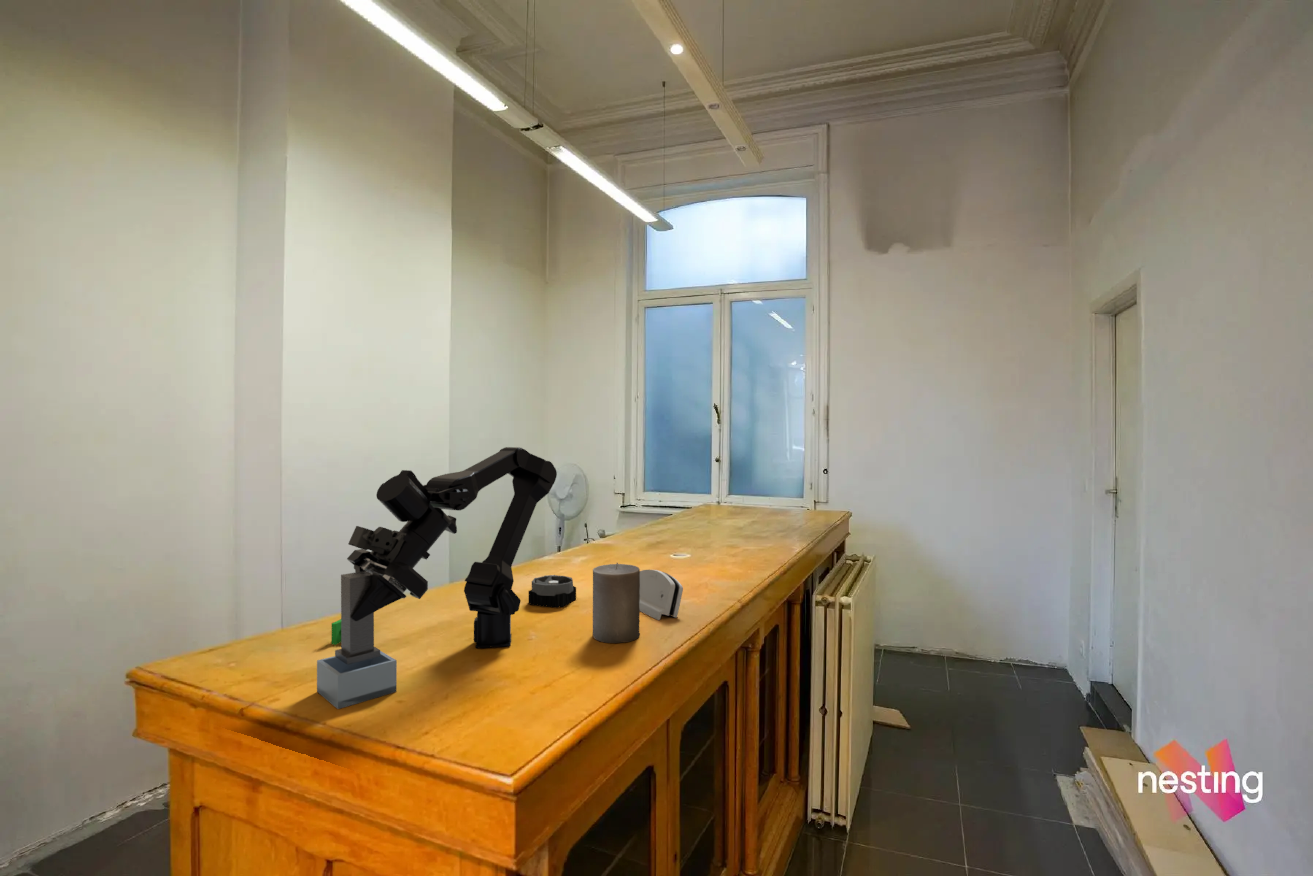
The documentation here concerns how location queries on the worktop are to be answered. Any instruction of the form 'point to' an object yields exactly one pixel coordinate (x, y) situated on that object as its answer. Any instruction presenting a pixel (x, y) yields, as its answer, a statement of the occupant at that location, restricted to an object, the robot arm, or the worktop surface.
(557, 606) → the cpu cooler
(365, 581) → the dark square pedestal
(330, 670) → the box
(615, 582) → the pillar candle
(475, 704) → the worktop surface
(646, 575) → the napkin holder
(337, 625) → the pipe clamp
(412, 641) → the worktop surface
